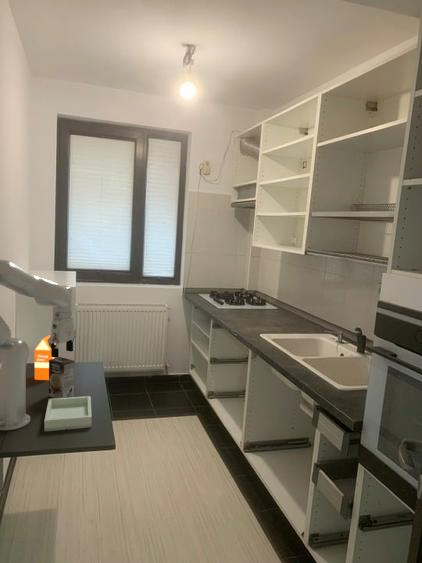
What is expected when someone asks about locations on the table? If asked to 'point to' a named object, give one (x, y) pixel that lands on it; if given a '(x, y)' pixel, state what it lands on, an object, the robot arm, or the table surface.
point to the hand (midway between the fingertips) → (62, 354)
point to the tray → (68, 413)
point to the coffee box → (61, 378)
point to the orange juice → (42, 359)
